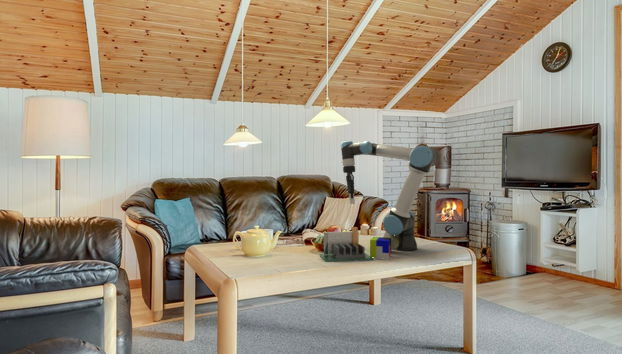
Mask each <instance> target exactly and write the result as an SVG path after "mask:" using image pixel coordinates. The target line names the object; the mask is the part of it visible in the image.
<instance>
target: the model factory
mask: <svg viewBox="0 0 622 354" xmlns="http://www.w3.org/2000/svg"><path fill="white" fill-rule="evenodd" d="M350 230H351V232H352V247H351V246H349V245H348V244H346V248H345V247H344V246H343V245H340V252H339V247H337V246H336V245H333V254H324V253H320V254H319V257H321V259H323V261H324V262H327V263H329V262H332V261H333V262H350V261H351V262H353V261H354V260H359V261H373V260H374V258H372V257H370V254H367V253H366V252H365V248H366V247H365V246H363V245H362V244H361V243H359V244H358V232H359V231H358V230H359V229H358V227H356V226H351V227H350ZM354 262H355V261H354Z"/></svg>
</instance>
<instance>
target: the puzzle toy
mask: <svg viewBox="0 0 622 354" xmlns="http://www.w3.org/2000/svg"><path fill="white" fill-rule="evenodd" d="M383 237H384V236H382V237H380V236H379V237H378V236H373V237H372V238H370V240H369V256H370V257H374V258H373V259H379V258H384V259H383V260H389V259H390V258H389V257H391V256H392V250H391V238H383Z"/></svg>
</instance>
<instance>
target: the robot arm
mask: <svg viewBox="0 0 622 354" xmlns="http://www.w3.org/2000/svg"><path fill="white" fill-rule="evenodd" d="M340 150H341V158H342V160H341V164H342V166H343V167H342V172H343V173H344V174H346V176H345V181H346V186H347V193H348V197H349V198H348V199H349V204H350V205H353V204H355V176H354V174H353V173H355V172H356V166H355V165H356V163H355V157H356V156H362V155H366V156H368V155H369V156H376V157H382V158H388V159H396V160H404V161H409V163H408V169H409V171H408V173H407V176H406V178H405V180H404V184H403V185H402V188H401V191H400V193H399V196H398V198H397V200H396V203H395V206H394V207H391V209H390V211H389V213H388V215H387V216H385V218H384V219H383V221H382V227H383V229H384V231H385V232H387V233H388V234H390V235H394V236H396V237H397V238H398V240H399V245H398V247H397V250H396V251H401V250H413V251H416V250H415V249H417V250H418V244H417V241H416V238H415V225H416V223H415V221H416V220H415V219H416V218H415V217H416V215H415V212H413V211H411V209H412V206H413V204H414V201H415V199H416V197H417V195H418V192H419V189H420V186H421V185H422V181H423V179H424V176H425V175H427V174H429V172H430V170H431V167H433V166H435V165H436V164H437V163H438V162H439V159H440V154H439V151H438V150H437V149H436V148H434V147H433V146H428V145H427V146H426V145H418V146H416V147H414V148H413V147H407V146H406V147H404V146H397V145H389V144H381V143H374V142H373V143H372V142H370V141H360V142H356V143H354V142H353V141H352V140H345V141H342V142H341V144H340Z"/></svg>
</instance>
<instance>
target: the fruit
mask: <svg viewBox="0 0 622 354" xmlns="http://www.w3.org/2000/svg"><path fill="white" fill-rule="evenodd" d="M382 237H383V238H391V251H392V250H395V249H397V247H398V245H399V240H398V238H397V237H396V236H395V235H390V234H388V233H387V232H386V231H385V232H384V235H383V236H382Z"/></svg>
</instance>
